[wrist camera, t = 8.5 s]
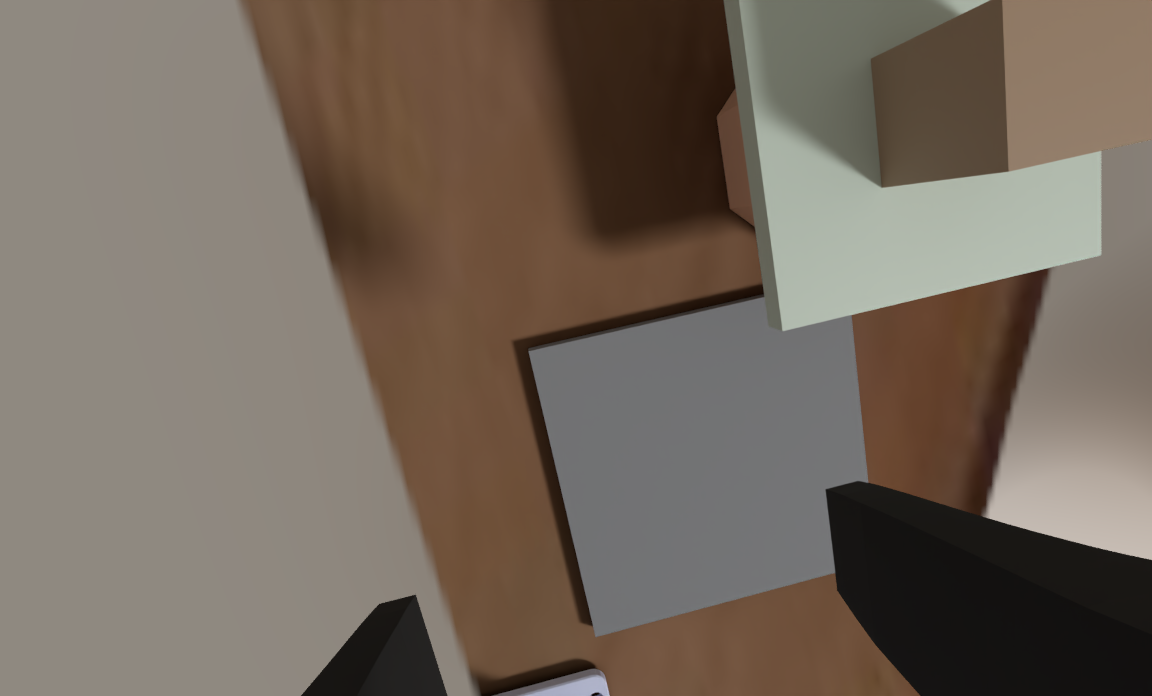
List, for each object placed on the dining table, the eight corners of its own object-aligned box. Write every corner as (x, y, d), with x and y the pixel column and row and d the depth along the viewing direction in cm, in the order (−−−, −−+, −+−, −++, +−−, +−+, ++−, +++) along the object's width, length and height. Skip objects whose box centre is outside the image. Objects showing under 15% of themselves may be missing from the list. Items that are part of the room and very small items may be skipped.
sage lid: (1071, 254, 16) (1284, 261, 11) (768, 326, 15) (871, 363, 11) (1067, -109, 14) (1321, -266, 9) (717, -42, 13) (819, -179, 9)
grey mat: (867, 554, 22) (876, 561, 21) (593, 627, 21) (595, 636, 20) (839, 276, 19) (847, 277, 19) (528, 348, 18) (528, 351, 18)
